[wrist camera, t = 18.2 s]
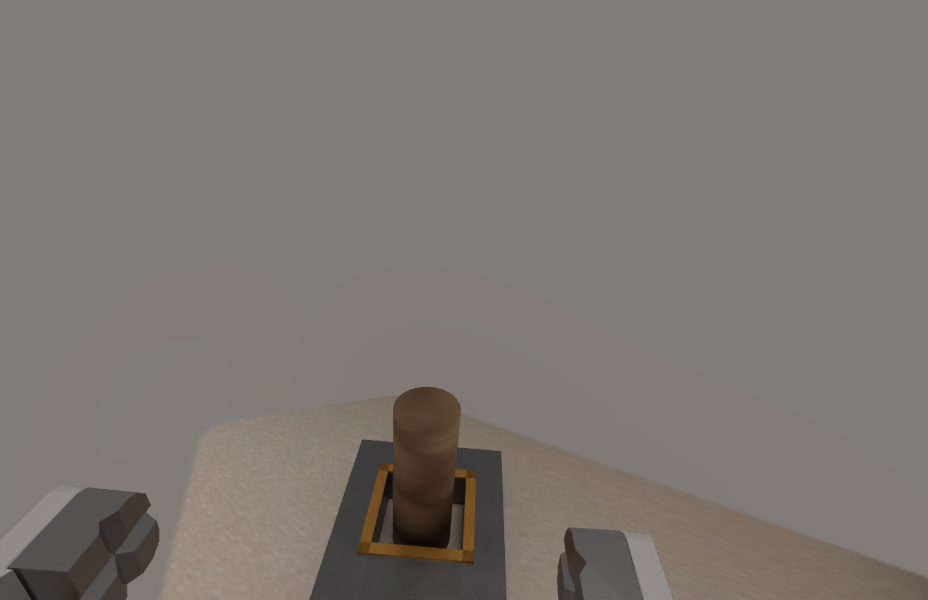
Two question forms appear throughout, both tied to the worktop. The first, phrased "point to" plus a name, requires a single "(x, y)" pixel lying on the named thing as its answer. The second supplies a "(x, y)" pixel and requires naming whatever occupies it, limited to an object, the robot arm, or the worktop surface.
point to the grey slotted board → (413, 567)
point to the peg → (424, 466)
